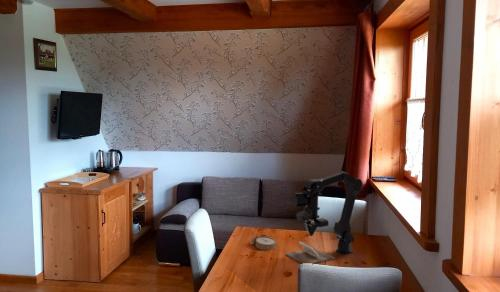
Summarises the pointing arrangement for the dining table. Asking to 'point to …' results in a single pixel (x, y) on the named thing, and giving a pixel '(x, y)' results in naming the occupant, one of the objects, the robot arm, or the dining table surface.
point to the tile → (309, 248)
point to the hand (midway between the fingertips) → (311, 235)
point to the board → (309, 256)
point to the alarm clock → (264, 242)
